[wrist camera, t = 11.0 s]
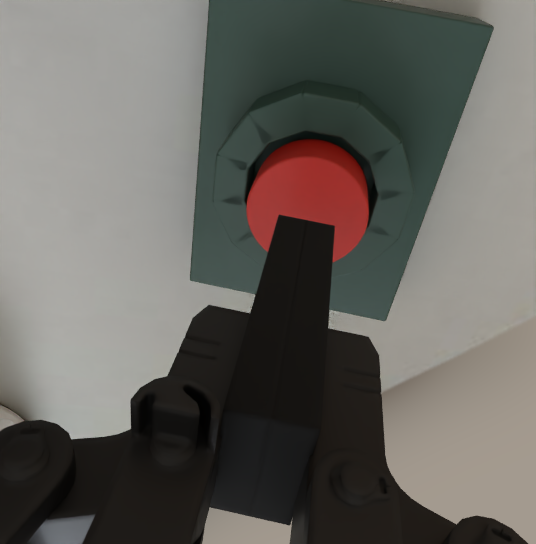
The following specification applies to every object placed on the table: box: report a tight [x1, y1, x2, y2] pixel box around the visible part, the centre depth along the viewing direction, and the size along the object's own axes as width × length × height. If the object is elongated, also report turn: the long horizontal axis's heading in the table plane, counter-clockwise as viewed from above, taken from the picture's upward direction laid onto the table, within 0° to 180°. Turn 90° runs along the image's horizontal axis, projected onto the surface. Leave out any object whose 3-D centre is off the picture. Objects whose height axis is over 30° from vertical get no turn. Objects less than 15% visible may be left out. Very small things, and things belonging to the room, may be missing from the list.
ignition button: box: [246, 139, 369, 262], centre depth 17 cm, size 4×4×2 cm
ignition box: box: [190, 0, 494, 321], centre depth 19 cm, size 12×9×4 cm
